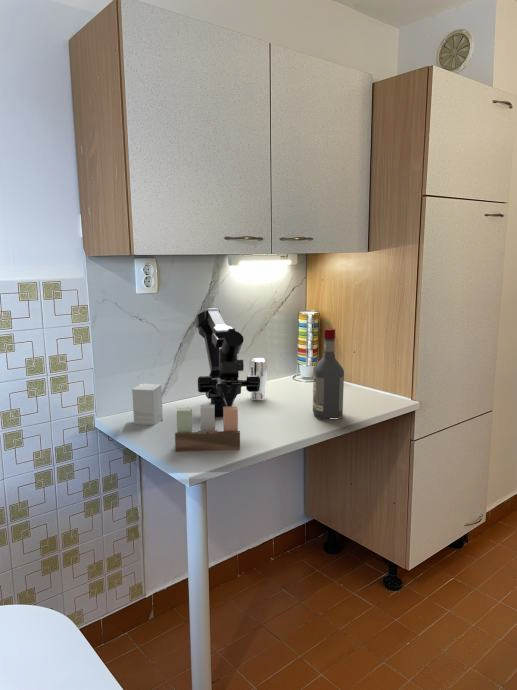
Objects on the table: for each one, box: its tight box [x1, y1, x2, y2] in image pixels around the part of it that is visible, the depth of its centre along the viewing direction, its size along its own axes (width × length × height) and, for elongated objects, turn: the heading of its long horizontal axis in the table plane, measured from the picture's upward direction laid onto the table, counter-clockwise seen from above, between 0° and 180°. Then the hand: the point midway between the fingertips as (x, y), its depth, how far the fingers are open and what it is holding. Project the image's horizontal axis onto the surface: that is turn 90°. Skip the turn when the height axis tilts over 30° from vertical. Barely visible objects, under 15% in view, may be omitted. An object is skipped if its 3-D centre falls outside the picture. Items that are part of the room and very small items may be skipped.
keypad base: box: [174, 429, 241, 452], centre depth 154 cm, size 8×18×6 cm, turn 95°
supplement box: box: [131, 383, 164, 426], centre depth 174 cm, size 7×7×13 cm
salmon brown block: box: [222, 405, 239, 431], centre depth 154 cm, size 3×4×11 cm
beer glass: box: [248, 357, 268, 402], centre depth 203 cm, size 7×7×15 cm
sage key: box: [176, 406, 193, 432], centre depth 152 cm, size 3×4×11 cm
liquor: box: [312, 327, 345, 420], centre depth 181 cm, size 9×9×30 cm
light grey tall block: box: [199, 404, 216, 432], centre depth 155 cm, size 3×4×11 cm
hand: (229, 409), depth 159 cm, fingers closed
